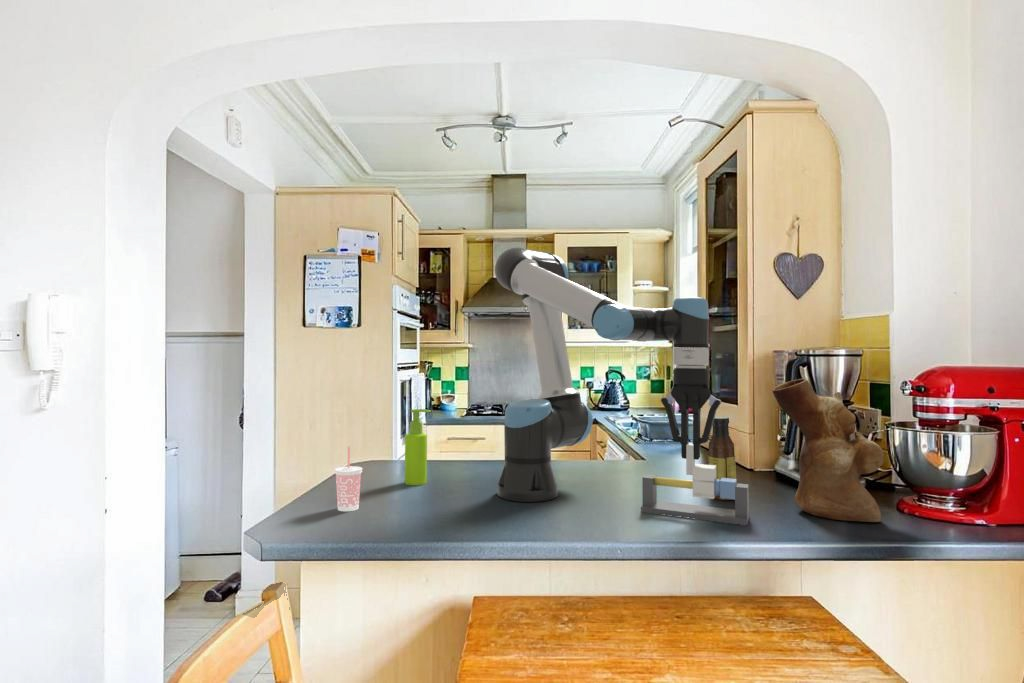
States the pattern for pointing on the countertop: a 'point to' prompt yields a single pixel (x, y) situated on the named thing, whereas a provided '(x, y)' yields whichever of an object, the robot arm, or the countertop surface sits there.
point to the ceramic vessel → (830, 455)
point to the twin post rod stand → (721, 488)
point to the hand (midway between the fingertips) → (690, 473)
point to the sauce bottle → (722, 451)
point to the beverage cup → (348, 486)
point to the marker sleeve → (704, 480)
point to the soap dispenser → (416, 452)
